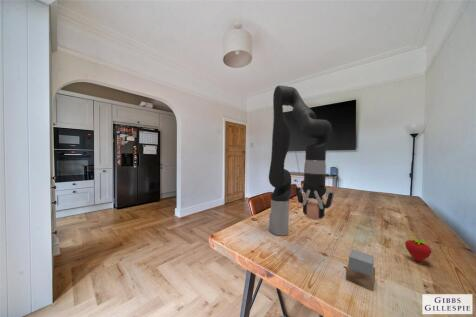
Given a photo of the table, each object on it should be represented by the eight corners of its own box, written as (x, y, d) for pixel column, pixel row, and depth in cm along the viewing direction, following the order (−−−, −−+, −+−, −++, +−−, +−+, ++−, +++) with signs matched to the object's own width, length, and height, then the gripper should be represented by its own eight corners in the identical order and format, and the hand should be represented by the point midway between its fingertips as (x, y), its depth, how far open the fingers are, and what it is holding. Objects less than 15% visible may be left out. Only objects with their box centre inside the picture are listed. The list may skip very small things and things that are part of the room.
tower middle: (348, 268, 58) (349, 256, 57) (351, 260, 62) (352, 249, 62) (371, 277, 54) (372, 264, 54) (373, 267, 58) (373, 255, 58)
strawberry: (411, 255, 73) (412, 230, 73) (435, 266, 65) (436, 239, 65) (400, 256, 71) (401, 232, 71) (423, 268, 64) (424, 241, 64)
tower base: (345, 280, 58) (346, 268, 58) (350, 270, 63) (350, 259, 63) (372, 291, 53) (373, 278, 53) (374, 279, 58) (375, 267, 58)
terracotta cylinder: (304, 217, 68) (304, 204, 68) (309, 214, 72) (309, 201, 71) (317, 220, 64) (318, 207, 64) (322, 217, 68) (322, 204, 68)
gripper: (338, 173, 65) (336, 218, 66) (300, 170, 75) (299, 209, 76) (332, 174, 60) (330, 224, 60) (292, 171, 69) (291, 213, 70)
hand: (313, 216), depth 68 cm, fingers closed on terracotta cylinder, 5 cm apart
